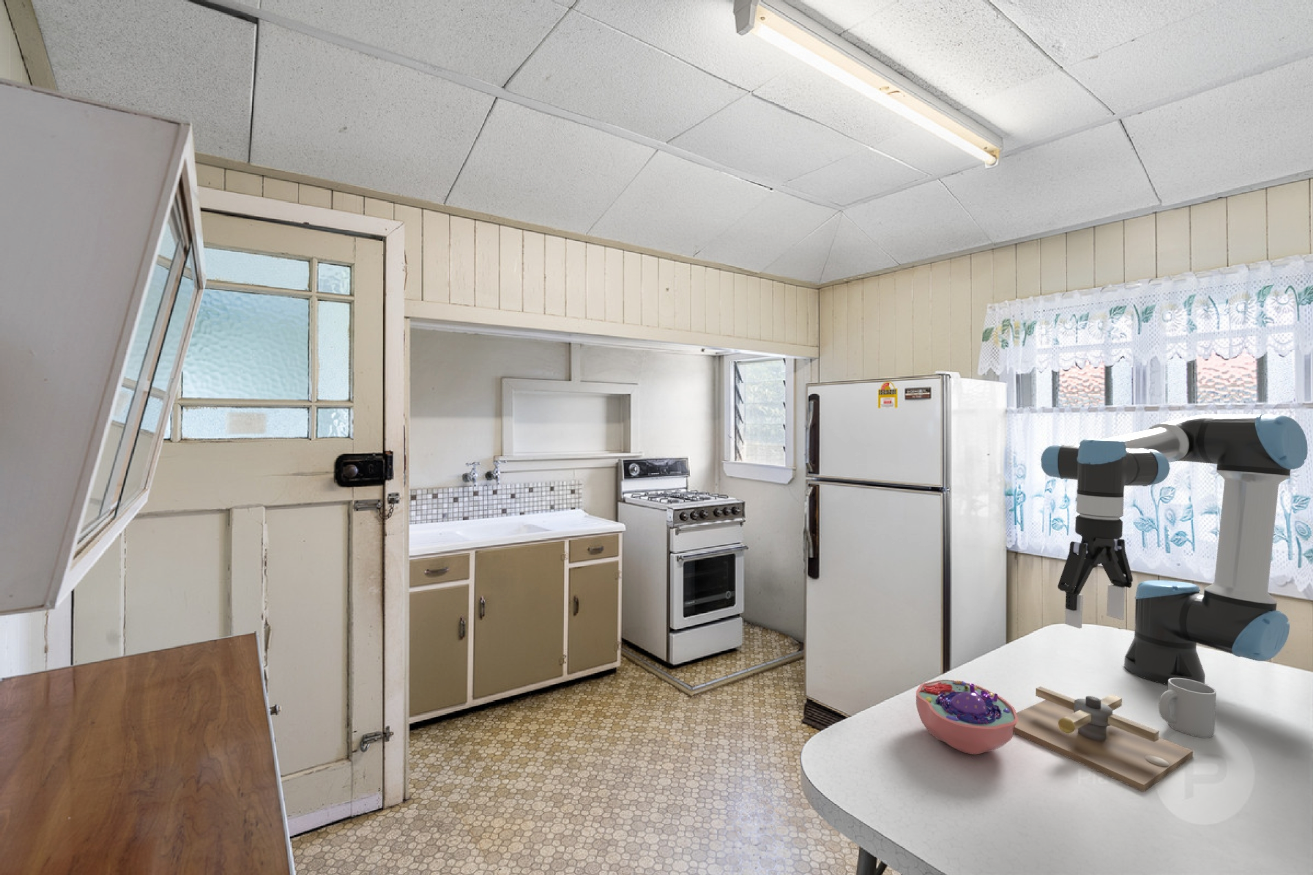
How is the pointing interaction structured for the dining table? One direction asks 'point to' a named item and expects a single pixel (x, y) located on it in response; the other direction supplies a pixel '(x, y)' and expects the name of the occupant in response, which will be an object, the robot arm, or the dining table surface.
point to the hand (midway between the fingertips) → (1094, 621)
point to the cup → (1189, 707)
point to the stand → (1102, 746)
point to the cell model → (965, 715)
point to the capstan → (1095, 714)
